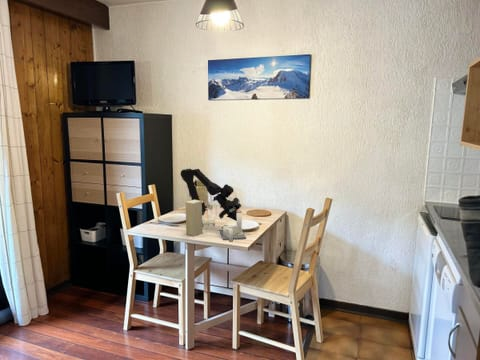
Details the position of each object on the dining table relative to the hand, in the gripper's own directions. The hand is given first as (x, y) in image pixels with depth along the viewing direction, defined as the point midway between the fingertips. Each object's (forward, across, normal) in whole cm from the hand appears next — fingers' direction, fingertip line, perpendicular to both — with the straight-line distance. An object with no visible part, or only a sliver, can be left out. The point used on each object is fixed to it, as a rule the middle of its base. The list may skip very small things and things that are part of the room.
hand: (238, 221), depth 218 cm
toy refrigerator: (-12, -15, +23) cm, 29 cm away
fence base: (+5, -11, +6) cm, 14 cm away
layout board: (+4, -4, +7) cm, 9 cm away
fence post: (+5, -4, +5) cm, 8 cm away
